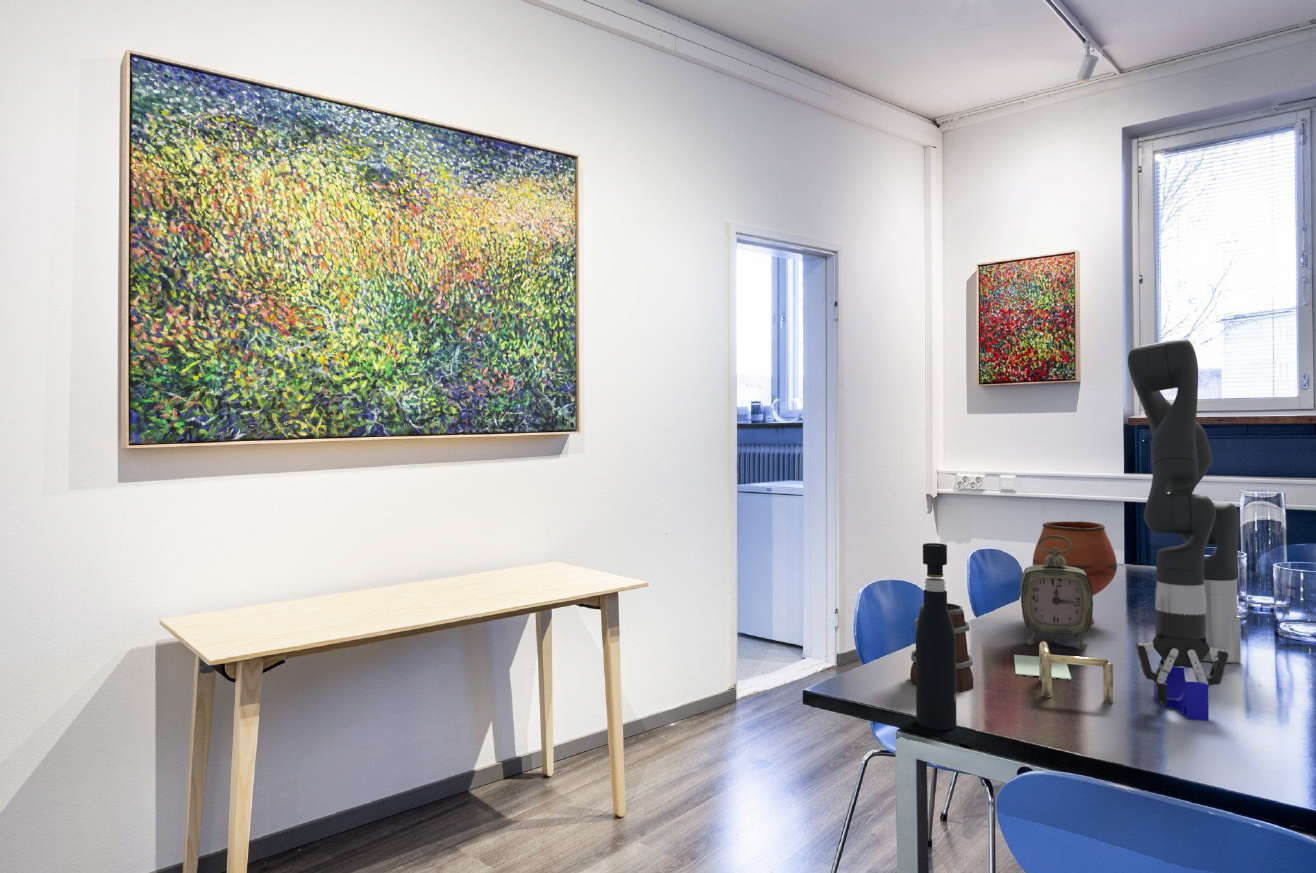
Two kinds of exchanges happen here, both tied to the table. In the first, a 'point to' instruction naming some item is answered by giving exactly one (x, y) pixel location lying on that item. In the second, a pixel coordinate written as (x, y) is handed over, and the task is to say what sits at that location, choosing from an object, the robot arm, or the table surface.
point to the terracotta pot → (1081, 550)
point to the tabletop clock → (1056, 597)
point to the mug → (962, 658)
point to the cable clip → (1186, 695)
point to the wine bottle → (935, 648)
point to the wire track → (1047, 658)
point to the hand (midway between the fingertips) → (1181, 705)
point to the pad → (1031, 667)
